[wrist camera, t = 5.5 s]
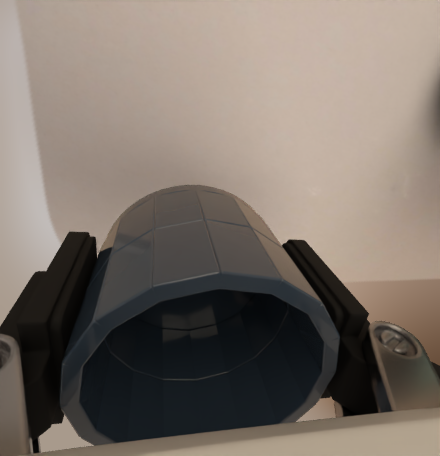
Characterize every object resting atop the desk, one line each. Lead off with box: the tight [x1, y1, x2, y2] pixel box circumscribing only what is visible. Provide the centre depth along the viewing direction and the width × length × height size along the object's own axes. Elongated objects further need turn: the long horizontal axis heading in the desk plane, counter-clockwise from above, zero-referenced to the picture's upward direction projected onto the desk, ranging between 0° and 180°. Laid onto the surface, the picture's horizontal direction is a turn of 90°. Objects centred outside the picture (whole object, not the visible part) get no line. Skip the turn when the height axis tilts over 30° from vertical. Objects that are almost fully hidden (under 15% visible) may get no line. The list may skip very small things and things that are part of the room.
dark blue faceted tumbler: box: [59, 185, 340, 446], centre depth 9 cm, size 6×6×5 cm
